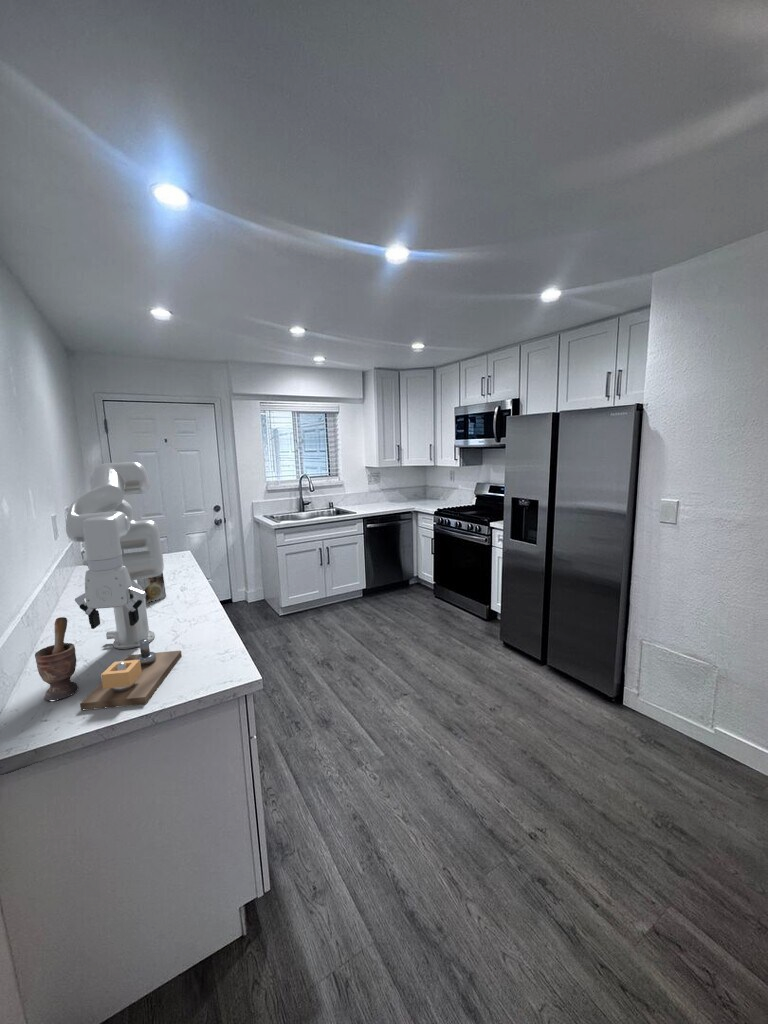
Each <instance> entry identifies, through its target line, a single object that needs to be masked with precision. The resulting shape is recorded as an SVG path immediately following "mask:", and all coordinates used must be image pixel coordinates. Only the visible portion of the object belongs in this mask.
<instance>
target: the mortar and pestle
mask: <svg viewBox="0 0 768 1024" xmlns="http://www.w3.org/2000/svg"><path fill="white" fill-rule="evenodd" d="M67 627H68V618H67V617H63V616H62V617H56V619H55V621H54V644H53V645H49V646H46V647H44V648H41V649H40V650H38V651H35V654H34V658H35V663H36V669H37V671H38V674H39V677H40V678H41V679H42V681H43V682H45V683H47V684H48V685H49V688H48V689H46V691H45V693H44V699H45V698H46V699H47V700H46V699H45V700H46V701H48V700H57V699H60V700H62V699H61V698H63V699H65V698H68V697H71V696H72V695H73V693H74V694H75V693H77V691H78V690H77V689H79V686H78V684H77V683H76V682H74V681H72V680H71V678H72V676H74V673H75V672H76V666H77V654H76V648H75V644H73V643H70V642H69V643H68V642H65V637H66V631H67ZM71 694H72V695H71ZM57 701H58V700H57Z"/></svg>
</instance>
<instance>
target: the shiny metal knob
mask: <svg viewBox="0 0 768 1024" xmlns="http://www.w3.org/2000/svg"><path fill="white" fill-rule="evenodd" d="M139 644H140V646H139V649H140V653H139V654H140V655H138V656H137V657H136V660H140V663H141V666H147V665H150V664H152V663H154V662H155V661H156V654H155V653H156V652H154V651H150V642H148V639H142V640H140V641H139Z"/></svg>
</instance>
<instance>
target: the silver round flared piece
mask: <svg viewBox="0 0 768 1024" xmlns="http://www.w3.org/2000/svg"><path fill="white" fill-rule="evenodd" d="M126 669H127V667H126V664H125V663H124V662H121V663H118V664H117V666H116V671H119V670H126ZM134 686H135V681H134V682H133V684H132V685H131V686H127V687H116V688H113V692H115V693H121V692H125V691H128V690H130V689H132V688H133V687H134Z"/></svg>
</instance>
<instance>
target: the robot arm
mask: <svg viewBox="0 0 768 1024" xmlns="http://www.w3.org/2000/svg"><path fill="white" fill-rule="evenodd" d="M89 485H90V490H89V491H87V492H86V493H84V494H82V495H81V496H80V497H77V499H75V500H74V501H73V502H72V503H71V504H70V506H69V507H68V512H67V514H66V520H65V532H66V534H67V537H68V538H69V540H70V541H73V542H75V543H83V542H84V545H85V552H86V560H83V561H82V564H83V565H82V566H87V569H88V570H85V577H84V593H82V594H81V595H79V596H77V597H75V599H74V601H75V603H76V604H77V605H78V607H79V609H81V610H82V611H83V612H84V614H85V615H87V616H88V623H89V625H90V628H91V630H94V629H96V628H97V627H98V626H99V625H101V619H100V612H99V610H100V609H111V608H112V609H113V613H114V620H115V628H116V630H115V631H114V630H111V631H106V633H105V637H106V640H114V641H113V647H114V648H115V649H118V650H129V649H135V648H140V644H139V641H140V640H142V639H148V642H149V643H150V642H152V641H153V640H155V639H154V638H156V637H155V635H156V633H155V632H154V631H152V630H150V627H149V619H148V613H147V605H146V603H145V596H146V592H144V591H143V589H142V588H141V586H140V585H138V583H137V580H138V579H144V578H151V577H156V576H159V575H161V574H162V573H163V574H164V568H165V566H164V557H163V548H162V539H161V533H160V528H159V525H158V524H157V522H156V521H154V520H151V519H144V520H135V518H134V510H133V507H132V505H131V504H130V503H129V502H128V501H127V500H125V496H128V495H129V496H130V495H143V494H145V493H148V491H149V490H150V486H151V481H150V477H149V474H148V472H147V470H146V468H145V466H144V465H143V464H142V463H140V462H136V461H123V462H122V461H121V462H106V463H102V464H99V465H97V466H96V467H95V468H94V469H93V472H92V475H91V476H90V478H89ZM140 548H145V549H147V550H142V551H133V552H125V553H124V552H123V553H122V551H124V550H125V551H126V550H133V549H140ZM97 609H99V610H97Z"/></svg>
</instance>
